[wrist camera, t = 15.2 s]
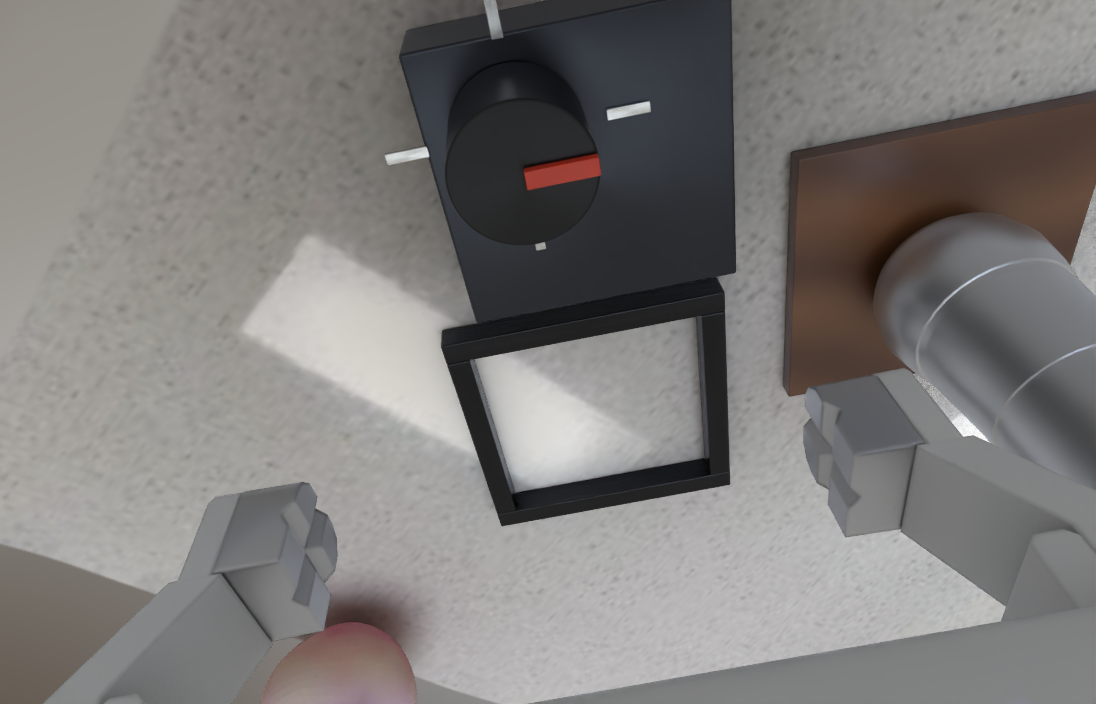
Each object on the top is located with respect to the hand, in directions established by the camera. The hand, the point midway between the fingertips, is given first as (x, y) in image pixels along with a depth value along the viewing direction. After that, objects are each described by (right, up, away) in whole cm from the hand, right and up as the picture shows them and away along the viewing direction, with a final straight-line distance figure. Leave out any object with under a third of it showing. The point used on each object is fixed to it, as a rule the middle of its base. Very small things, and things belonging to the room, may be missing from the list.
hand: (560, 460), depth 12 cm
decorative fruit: (-12, -15, +32) cm, 37 cm away
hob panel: (+1, +9, +15) cm, 18 cm away
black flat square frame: (+2, -1, +23) cm, 23 cm away
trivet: (+16, +6, +19) cm, 26 cm away
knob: (-1, +9, +11) cm, 14 cm away
